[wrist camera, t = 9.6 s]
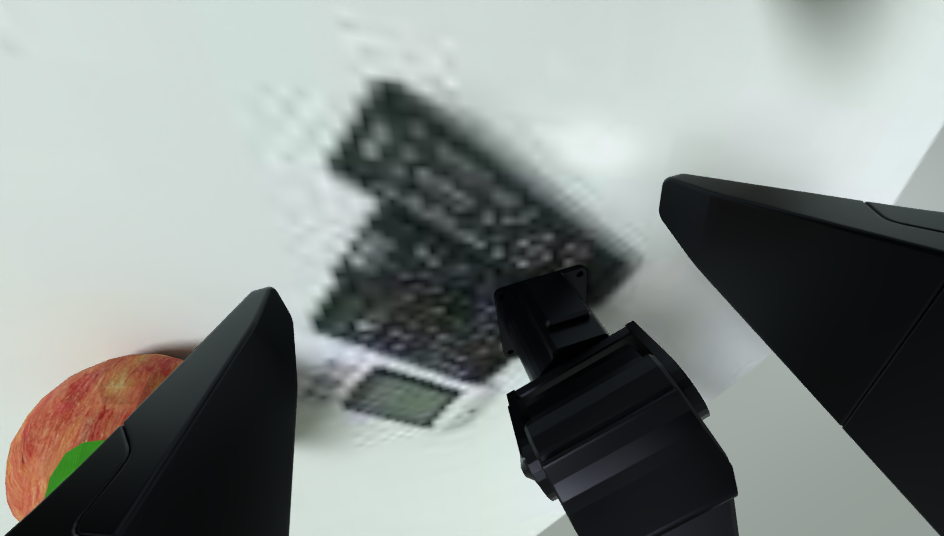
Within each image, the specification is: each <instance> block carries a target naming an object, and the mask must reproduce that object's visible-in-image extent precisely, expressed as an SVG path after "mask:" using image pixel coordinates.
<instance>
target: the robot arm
mask: <svg viewBox="0 0 944 536" xmlns="http://www.w3.org/2000/svg"><path fill="white" fill-rule="evenodd" d="M659 214H660V217H661V219H662V221H663V222H664V223H665V225H666V226H667V228H668V229H669V230H670V232H671V233H672V234H673V236H674V237H675V239H676V240H677V241H678V243H679V244H680V245H681V247H682V248H683V250H684V251H685V252H686V254H687V255H688V257H689V258H690V259H691V260H692V262H693V263H694V264H695V266H696V267H697V268H698V269H699V270H700V271H701V273H702V274H703V275H704V276H705V277H706V278H707V279H708V280H709V281H710V282H711V284H712V285H713V286H714V287H715V288H716V289H717V290H718V291H719V292H720V293H721V295H722V296H723V297H724V298H725V299H726V300H727V301H728V302H729V303H730V304H731V306H732V307H733V308H734V309H735V310H736V311H737V312H738V313H739V314H740V315H741V317H742V318H743V319H744V320H745V321H746V322H747V323H748V324H749V325H750V326H751V328H752V329H753V330H754V331H755V332H756V333H757V334H758V335H759V336H760V337H761V339H762V340H763V341H764V342H765V343H766V344H767V345H768V346H769V347H770V348H771V350H772V351H773V352H774V353H775V354H776V355H777V356H778V357H779V358H780V359H781V360H782V362H783V363H784V364H785V365H786V366H787V367H788V368H789V369H790V370H791V372H792V373H793V374H794V375H795V376H796V377H797V378H798V379H799V380H800V381H801V383H802V384H803V385H804V386H805V387H806V388H807V389H808V390H809V391H810V392H811V394H812V395H813V396H814V397H815V398H816V399H817V400H818V401H819V402H820V403H821V405H822V406H823V407H824V408H825V409H826V410H827V411H828V412H829V413H830V414H831V416H832V417H833V418H834V419H835V420H836V421H837V422H838V423H839V424H840V425H842V426H843V427H842V428H843V429H844V430H845V431H846V433H847V434H848V435H849V436H850V437H851V438H852V439H853V440H854V441H855V442H856V443H857V445H858V446H859V447H860V448H861V449H862V450H863V451H864V452H865V453H866V455H868V457H869V458H870V459H871V460H872V461H873V462H874V463H875V464H876V466H877V467H878V468H879V469H880V470H881V471H882V472H883V473H884V474H885V475H886V477H887V478H888V479H889V480H890V481H891V482H892V483H893V484H894V485H895V486H896V488H897V489H898V490H899V491H900V492H901V493H902V494H903V495H904V496H905V498H906V499H907V500H908V501H909V502H910V503H911V504H912V505H913V506H914V507H915V509H916V510H917V511H918V512H919V513H920V514H921V515H922V516H923V517H924V518H925V520H926V521H927V522H928V523H929V524H930V525H931V526H932V527H933V528H934V529H935V531H936V532H937V533H938V534H939V535H940V536H944V212H936V211H928V210H921V209H914V208H907V207H900V206H893V205H886V204H880V203H873V202H865V203H864V202H863V201H860V200H853V199H847V198H840V197H833V196H827V195H820V194H814V193H807V192H801V191H794V190H788V189H781V188H775V187H768V186H761V185H755V184H748V183H742V182H735V181H729V180H722V179H716V178H709V177H702V176H696V175H689V174H679V175H675V176H672V177H668V178H667V179H665V180H664V182H663V185H662V192H661V199H660V206H659ZM578 272H579V273H578ZM577 273H578V274H577ZM586 291H587V270H586V269H585V268H584V267H583V266H582V265H576V266H573V267H569V268H566V269H563V270H559V271H556V272H553V273H549V274H546V275H542V276H539V277H536V278H532V279H529V280H526V281H522V282H519V283H516V284H512V285H509V286H505V287H502V288H499V289H497V290H496V291H495V293H494V300H495V306H496V312H497V318H498V324H499V330H500V337H501V343H502V349H503V352H504V354H505V356H507V357H511V356H514V355H518V356H519V358H520V360H521V362H522V364H523V366H524V368H525V371H526V373H527V375H528V377H529V379H530V381H531V382H530V383H528V384H526V385H525V386H523V387H521V388H519V389H518V390H516V391H515V390H513V391H511V392H510V393H508V394H507V399H508V402H509V406H508V409H509V413H510V417H511V421H512V425H513V429H514V432H515V436H516V440H517V444H518V448H519V452H520V460H521V469H522V471H523V473H524V475H525V476H526V477H527V478H530V479H532V480H534V481H536V483H537V484H538V485H539V486H540V488H541V489H542V491H543V492H544V493H545V494H546V496H547V497H548V498H549V499H550V500H552V501H554V500H556V499H559V501H560V503H561V505H562V506H563V508H564V510H565V512H566V514H567V516H568V517H569V519H570V521H571V523H572V525H573V527H574V529H575V531H576V532H577V534H578V536H739V534H738V526H737V518H736V511H735V503H734V498H735V497H736V496H737V495H738V491H737V486H736V481H735V476H734V472H733V467H732V465H731V463H730V462H729V460H728V457H727V456H726V454H725V452H724V451H723V449H722V448H721V446H720V445H719V444H718V442H717V441H716V439H715V438H714V436H713V435H712V434H711V432H710V431H709V429H708V428H707V426H706V425H705V424H704V422H703V421H702V420H703V419H705V418H707V417H708V416H710V413H709V410H708V408H707V406H706V404H705V402H704V400H703V399H702V397H701V395H700V394H699V392H698V391H697V389H696V388H695V386H694V385H693V383H692V382H691V381H690V379H689V378H688V377H687V375H686V374H685V373H684V371H683V370H682V369H681V368H680V366H679V365H678V364H677V363H676V362H675V361H674V360H673V359H672V358H671V357H670V356H669V355H668V354H667V353H666V352H665V351H664V350H663V349H662V348H661V347H660V346H659V345H658V344H657V343H656V342H655V341H654V340H653V339H652V338H651V337H650V336H649V335H648V334H647V333H646V332H645V331H644V330H643V329H642V328H640V327H639V326H638V325H637V324H636V323H635V322H634V321H632V322H630V323H628V324H626V325H625V327H624V328H623V329H621V330H619V331H617V332H616V333H614V334H612V335H611V336H610V335H609V333H608V332H607V331H606V329H605V328H604V327H603V325H602V324H601V323H600V321H599V320H598V319H597V317H596V316H595V315H594V313H593V312H592V311H591V309H590V308H589V307H588V305H587V304H586ZM503 294H504V295H503ZM501 295H503V296H502V297H500V296H501ZM296 407H297V369H296V355H295V342H294V328H293V321H292V317H291V315H290V313H289V311H288V310H287V308H286V306H285V304H284V303H283V301H282V299H281V297H280V296H279V294H278V292H277V291H276V290H275V289H274V288H273V287H266V288H263V289H259V290H255V291H253V292H251V293H250V294H249V295H248V296H247V297H246V298H245V299H244V300H243V301H242V302H241V303H240V304H239V305H238V306H237V307H236V308H235V309H234V310H233V311H232V312H231V313H230V314H229V315H228V316H227V317H226V318H225V319H224V320H223V321H222V322H221V323H220V324H219V325H218V326H217V327H216V328H215V329H214V330H213V331H212V332H211V333H210V334H209V335H208V336H207V337H206V339H205V340H204V341H203V342H202V343H201V344H200V345H199V346H198V347H197V348H196V349H195V350H194V351H193V352H192V353H191V354H190V355H189V356H188V357H187V358H186V359H185V360H184V361H183V362H182V363H181V364H180V365H179V366H178V367H177V368H176V369H175V370H174V371H173V372H172V373H171V374H170V375H169V376H168V377H167V378H166V379H165V380H164V381H163V382H162V383H161V384H160V385H159V386H158V387H157V388H156V389H155V390H154V391H153V392H152V393H151V394H150V395H149V396H148V397H147V398H146V399H145V400H144V401H143V402H142V404H141V405H140V406H139V407H138V408H137V409H136V410H135V411H134V412H133V413H132V414H131V415H130V416H129V417H128V418H127V419H126V420H125V421H124V422H123V425H124V426H123V425H121V426H119V427H118V428H117V429H116V430H115V431H114V432H113V433H112V434H111V435H110V436H109V437H108V438H107V439H106V440H105V441H104V442H103V443H102V444H101V445H100V446H99V447H98V448H97V449H96V450H95V451H94V452H93V453H92V454H91V455H90V456H89V457H88V458H87V459H86V460H85V461H84V462H83V463H82V464H81V465H80V466H79V467H78V468H77V469H76V470H75V471H74V472H73V473H72V474H71V475H70V476H68V477H67V478H66V479H65V480H64V481H63V482H62V483H61V484H60V485H59V486H58V487H57V488H56V489H55V490H53V491H52V492H51V493H50V494H49V495H48V496H47V497H46V498H45V499H44V500H43V501H42V502H41V503H39V504H38V505H37V506H36V507H35V508H34V509H33V510H32V511H31V512H30V513H29V514H28V515H26V516H25V517H24V518H23V519H22V520H21V521H20V522H19V523H18V524H17V525H16V526H14V527H13V528H12V529H11V530H10V531H9V532H8V533H7V534H6V535H5V536H289V526H290V509H291V492H292V475H293V458H294V441H295V424H296Z"/></svg>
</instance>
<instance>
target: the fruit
mask: <svg viewBox="0 0 944 536" xmlns="http://www.w3.org/2000/svg"><path fill="white" fill-rule="evenodd" d="M183 361H184V360H182V359H178V358H175V357H171V356H167V355H162V354H139V355H127V356H122V357H118V358H114V359H110V360H107V361H105V362H102V363H100V364H97V365H95V366H92V367H90V368H87V369H85V370H83V371H81V372H79V373H77V374H75V375H73V376H71V377H69V378H68V379H67V380H65V381H64V382H63V383H61V384H60V385H59V386H58V387H56V388H55V389H54V390H52V391H51V392H50V393H49V394H47V395H46V396H45V397H43V398H42V399H41V400H40V402H39V403H38V404H37V405H36V406H35V407H34V409H33V410H32V411H31V412H30V413H29V415H28V416H27V418H26V419H25V421H24V423H23V424H22V426H21V428H20V429H19V431H18V433H17V434H16V436H15V438H14V439H13V441H12V443H11V446H10V450H9V455H8V459H7V466H6V481H5V484H6V495H7V503H8V505H9V507H10V509H11V512H12V514H13V516H14V517H15V518H16V519H17V520H18V521H19V522H20V521H21V520H22V519H23V518H24V517H25V516H26V515H28V514H29V513H30V512H31V511H32V510H33V509H34V508H35V507H36V506H37V505H38V504H39V503H41V502H42V501H43V500H44V499H45V498H46V497H47V496H48V495H49V494H50V493H51V492H52V491H53V490H55V489H56V488H57V487H58V486H59V485H60V484H61V483H62V482H63V481H64V480H65V479H66V478H67V477H68V476H70V475H71V474H72V473H73V472H74V471H75V470H76V469H77V468H78V467H79V466H80V465H81V464H82V463H83V462H84V461H85V460H86V459H87V458H88V457H89V456H90V455H91V454H92V453H93V452H94V451H95V450H96V449H97V448H98V447H99V446H100V445H101V444H102V443H103V442H104V441H105V440H106V439H107V438H108V437H109V436H110V435H111V434H112V433H113V432H114V431H115V430H116V429H117V428H118V427H119V426H121V425H123V422H124V421H125V420H126V419H127V418H128V417H129V416H130V415H131V414H132V413H133V412H134V411H135V410H136V409H137V408H138V407H139V406H140V405H141V404H142V402H143V401H144V400H145V399H146V398H147V397H148V396H149V395H150V394H151V393H152V392H153V391H154V390H155V389H156V388H157V387H158V386H159V385H160V384H161V383H162V382H163V381H164V380H165V379H166V378H167V377H168V376H169V375H170V374H171V373H172V372H173V371H174V370H175V369H176V368H177V367H178V366H179V365H180V364H181V363H182V362H183ZM123 426H124V425H123Z"/></svg>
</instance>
